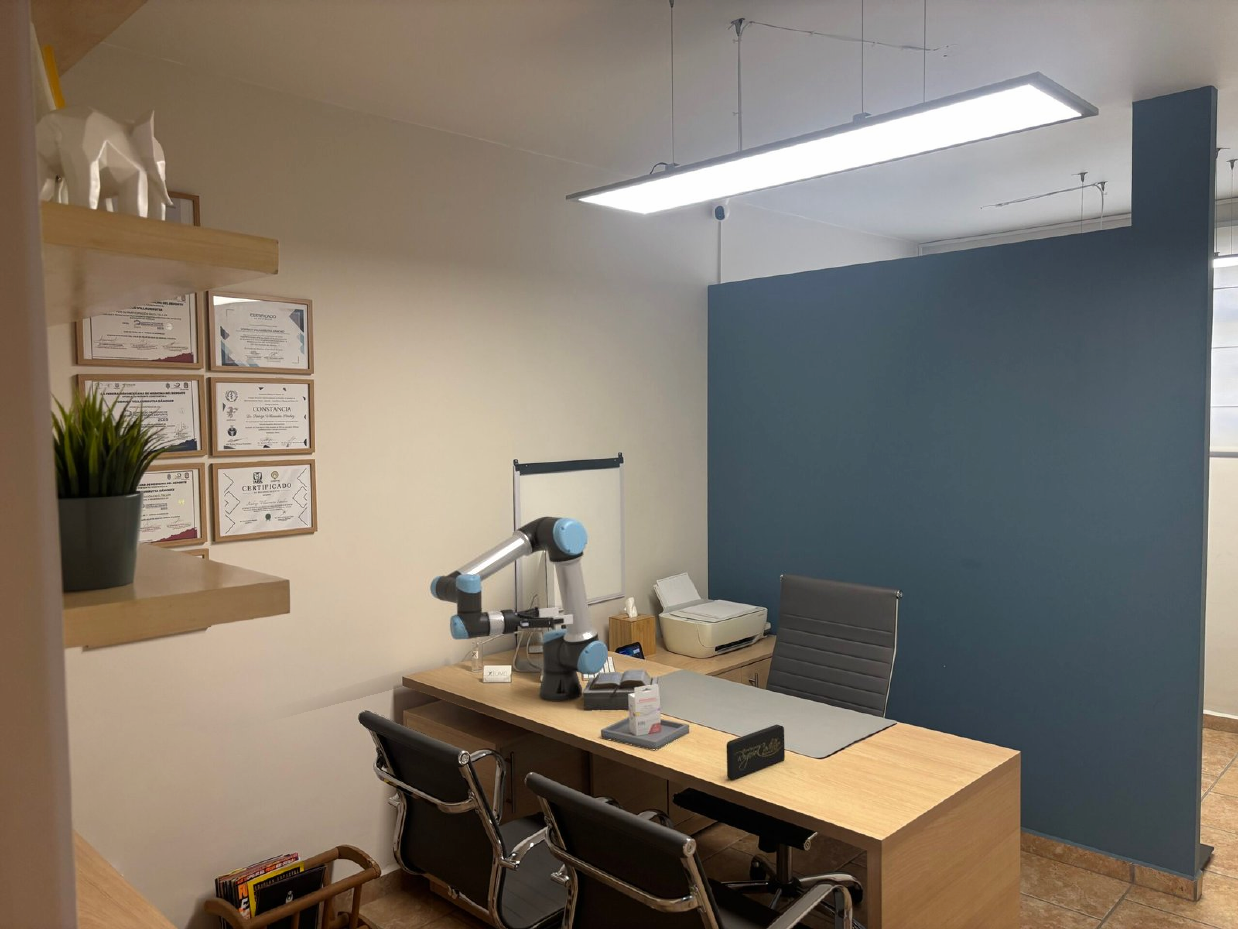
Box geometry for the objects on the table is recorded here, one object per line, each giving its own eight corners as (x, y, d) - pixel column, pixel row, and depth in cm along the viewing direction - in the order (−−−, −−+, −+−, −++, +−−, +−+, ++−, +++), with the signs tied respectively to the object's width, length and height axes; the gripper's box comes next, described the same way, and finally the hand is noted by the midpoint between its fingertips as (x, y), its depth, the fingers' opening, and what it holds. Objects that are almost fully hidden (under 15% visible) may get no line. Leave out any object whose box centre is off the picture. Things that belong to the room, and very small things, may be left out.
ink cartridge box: (654, 727, 274) (652, 679, 273) (661, 732, 269) (660, 683, 269) (628, 731, 270) (627, 683, 270) (635, 736, 266) (634, 688, 265)
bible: (651, 716, 288) (650, 686, 288) (573, 711, 296) (572, 682, 296) (668, 695, 311) (667, 667, 310) (594, 691, 318) (593, 663, 318)
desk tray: (635, 721, 283) (635, 713, 283) (689, 732, 271) (688, 724, 271) (601, 738, 268) (600, 729, 268) (655, 750, 256) (655, 742, 256)
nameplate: (732, 781, 233) (731, 744, 232) (727, 779, 234) (726, 742, 234) (784, 761, 246) (784, 725, 246) (779, 759, 247) (778, 723, 247)
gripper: (490, 626, 288) (552, 619, 296) (512, 642, 265) (579, 634, 273) (489, 603, 288) (552, 597, 296) (511, 617, 265) (578, 610, 273)
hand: (565, 615), depth 285 cm, fingers open, 13 cm apart
